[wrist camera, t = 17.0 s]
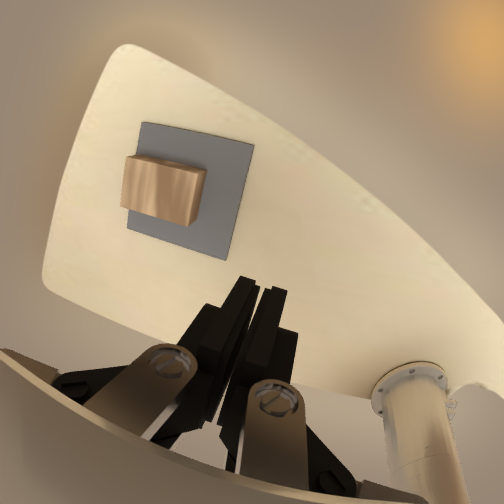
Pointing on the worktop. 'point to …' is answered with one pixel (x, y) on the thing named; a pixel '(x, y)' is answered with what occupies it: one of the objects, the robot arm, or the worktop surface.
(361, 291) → the worktop surface
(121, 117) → the worktop surface
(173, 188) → the oak slab
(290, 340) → the robot arm
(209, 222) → the rubber mat
